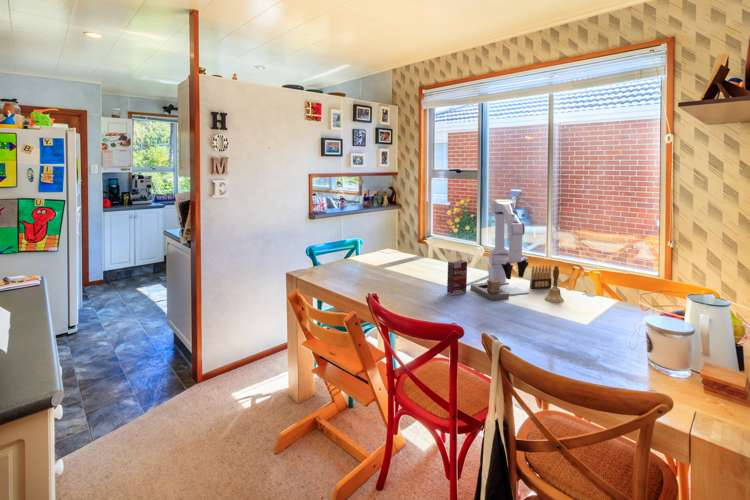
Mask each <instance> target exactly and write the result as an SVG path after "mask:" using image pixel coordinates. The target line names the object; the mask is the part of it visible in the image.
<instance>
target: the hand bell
mask: <svg viewBox="0 0 750 500" xmlns="http://www.w3.org/2000/svg"><path fill="white" fill-rule="evenodd" d="M552 277H553V284H552V285H553V286H551V288H550V289H549V290H548V294H547V295H546V296H545V297H543V298H544V300H545V301H546V302H549V303H556V304H557V303H564V302H565V300H564V298H563V297H562V294H561V288H560V287H558V279H559V277H560V269H559V266H558V265H555V266H554V267H553V270H552Z"/></svg>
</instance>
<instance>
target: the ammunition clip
mask: <svg viewBox="0 0 750 500" xmlns="http://www.w3.org/2000/svg"><path fill="white" fill-rule="evenodd" d="M538 266H539V267H538ZM551 287H552V265H551V264H549V266H548V264H547V265H544V264H543V265H542V266H541V265H536V266H534V265H533V266H532V268H531V275H530V282H529V289H530V290H533V291H534V290H547V289H549V290H550V288H551Z"/></svg>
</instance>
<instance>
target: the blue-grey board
mask: <svg viewBox="0 0 750 500" xmlns="http://www.w3.org/2000/svg"><path fill="white" fill-rule="evenodd" d="M500 289H501V290H503V291H505V292H507V293H509V296H510V297H511V296H517V295H529V291H527V290H525V289H522V288H520V287H517V286H513V287H503V288H500Z"/></svg>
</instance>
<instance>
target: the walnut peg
mask: <svg viewBox="0 0 750 500" xmlns="http://www.w3.org/2000/svg"><path fill="white" fill-rule="evenodd" d="M487 280H488V279H487ZM487 283H488V288H487V291H488V292H490V293H496V292H499V289H501V288H500V285H501V284H500V282H499V281H497V280H488V281H487Z"/></svg>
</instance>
